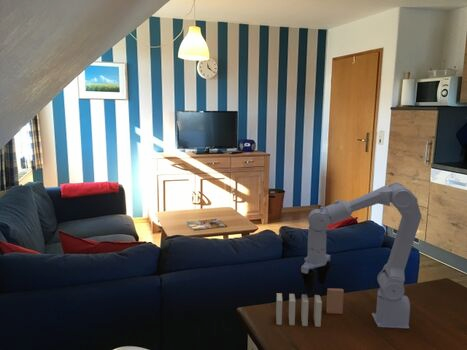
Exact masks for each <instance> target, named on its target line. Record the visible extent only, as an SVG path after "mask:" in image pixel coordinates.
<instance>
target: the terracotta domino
mask: <svg viewBox="0 0 467 350" xmlns="http://www.w3.org/2000/svg"><path fill="white" fill-rule="evenodd" d="M344 292H345V290H344V289H343V288H334V287H333V288H332V287H331V288H329V287H328V288H327V291H326V314H337V315H343V311H344V296H345V295H344V294H345V293H344Z"/></svg>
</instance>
